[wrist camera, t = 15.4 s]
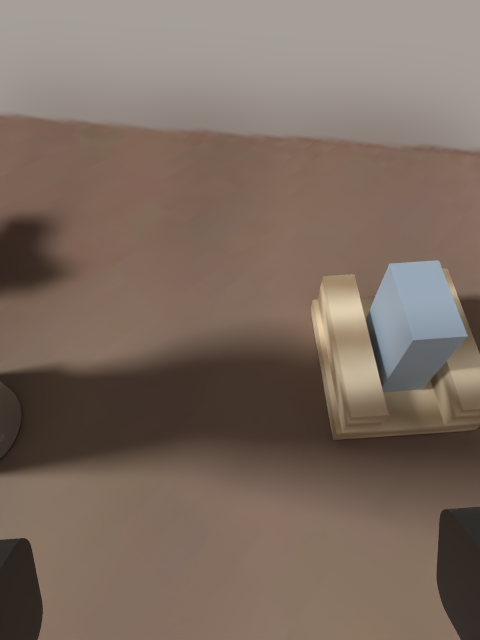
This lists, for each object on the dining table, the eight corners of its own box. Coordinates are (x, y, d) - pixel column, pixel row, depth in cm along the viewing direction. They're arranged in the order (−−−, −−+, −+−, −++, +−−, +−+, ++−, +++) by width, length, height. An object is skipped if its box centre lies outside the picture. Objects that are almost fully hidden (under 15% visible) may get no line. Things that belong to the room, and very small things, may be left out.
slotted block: (474, 430, 41) (506, 407, 36) (332, 439, 41) (345, 418, 36) (430, 302, 48) (452, 268, 43) (310, 310, 48) (317, 276, 43)
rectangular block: (422, 389, 41) (467, 336, 32) (378, 392, 41) (413, 340, 32) (402, 323, 45) (438, 260, 36) (362, 326, 44) (389, 263, 36)
